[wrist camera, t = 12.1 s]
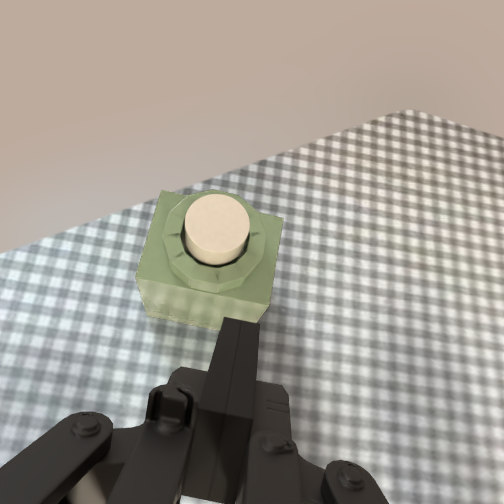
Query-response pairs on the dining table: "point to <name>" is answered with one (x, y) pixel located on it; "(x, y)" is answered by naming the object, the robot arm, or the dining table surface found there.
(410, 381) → the dining table surface
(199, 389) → the robot arm
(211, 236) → the beige short cylinder
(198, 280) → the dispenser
